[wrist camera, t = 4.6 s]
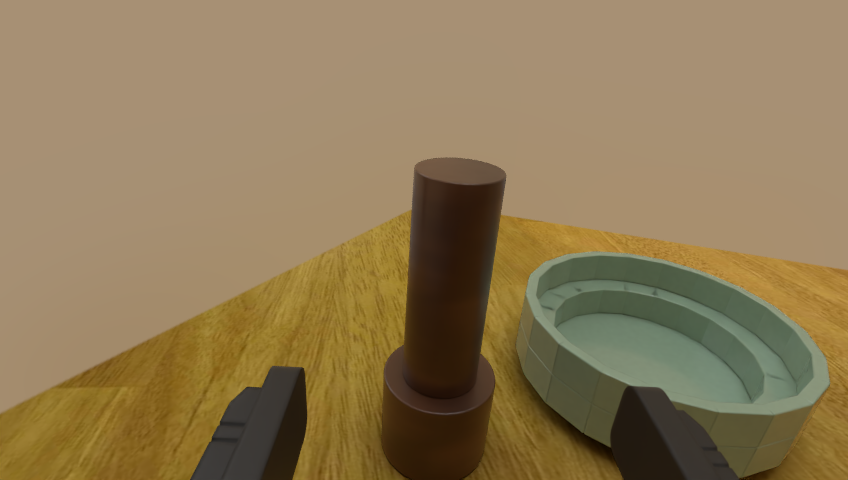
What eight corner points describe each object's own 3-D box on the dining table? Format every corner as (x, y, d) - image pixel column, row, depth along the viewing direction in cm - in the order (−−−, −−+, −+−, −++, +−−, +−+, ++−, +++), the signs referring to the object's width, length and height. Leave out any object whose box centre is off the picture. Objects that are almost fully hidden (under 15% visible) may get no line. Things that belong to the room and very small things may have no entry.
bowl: (547, 483, 20) (568, 405, 18) (498, 302, 32) (507, 245, 31) (867, 497, 20) (921, 421, 18) (693, 313, 33) (714, 257, 31)
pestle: (377, 482, 19) (386, 187, 14) (385, 398, 23) (395, 148, 18) (490, 487, 19) (545, 196, 14) (478, 402, 24) (515, 156, 18)
